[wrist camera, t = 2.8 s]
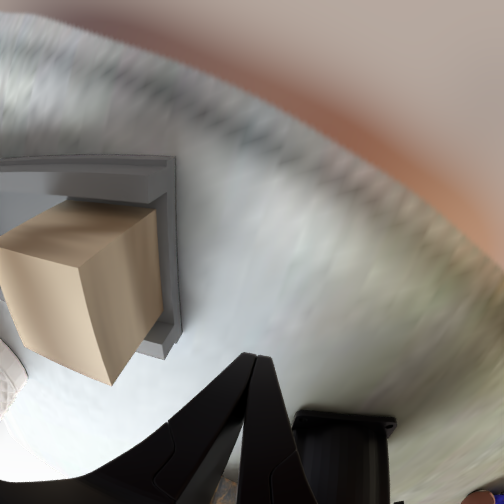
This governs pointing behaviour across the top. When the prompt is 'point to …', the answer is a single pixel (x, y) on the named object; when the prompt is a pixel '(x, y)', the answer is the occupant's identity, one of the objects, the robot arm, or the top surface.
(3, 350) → the white cup
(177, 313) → the chute
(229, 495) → the brown piece
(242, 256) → the top surface
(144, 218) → the birch block
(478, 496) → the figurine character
